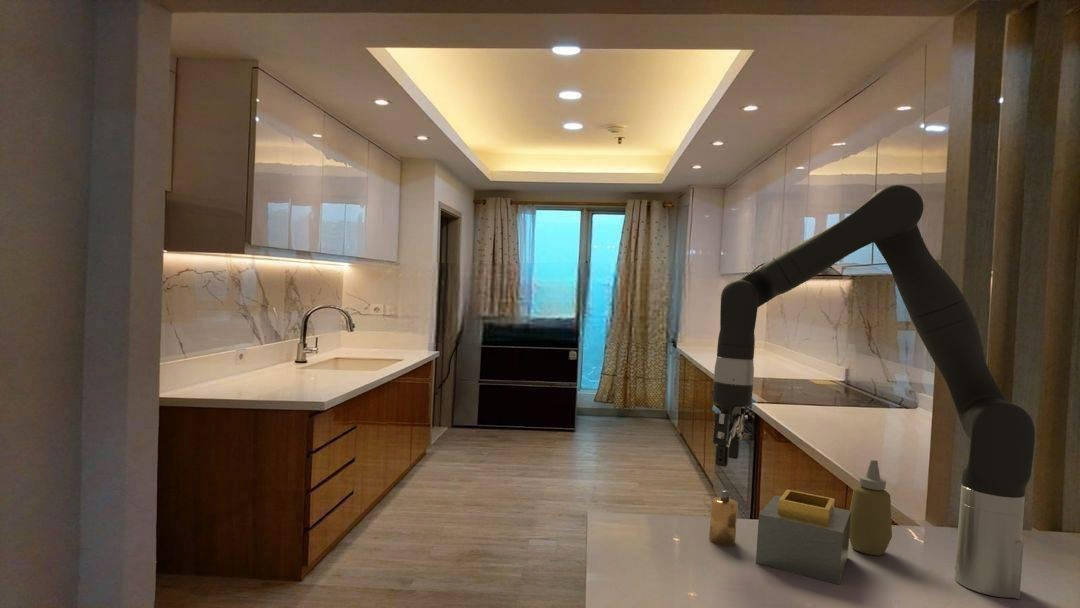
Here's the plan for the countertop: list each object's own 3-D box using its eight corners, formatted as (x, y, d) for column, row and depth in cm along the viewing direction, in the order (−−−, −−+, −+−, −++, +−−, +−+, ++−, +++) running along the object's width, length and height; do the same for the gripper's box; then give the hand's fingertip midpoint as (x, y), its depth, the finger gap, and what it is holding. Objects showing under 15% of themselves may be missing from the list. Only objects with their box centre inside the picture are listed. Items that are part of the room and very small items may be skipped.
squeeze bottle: (880, 544, 132) (886, 457, 131) (898, 560, 123) (904, 467, 123) (839, 540, 132) (845, 453, 132) (854, 556, 124) (861, 463, 124)
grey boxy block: (847, 557, 123) (851, 497, 123) (839, 584, 110) (843, 518, 110) (771, 539, 131) (775, 483, 130) (755, 562, 118) (759, 500, 118)
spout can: (737, 540, 129) (741, 490, 129) (731, 548, 124) (735, 496, 124) (712, 534, 131) (716, 485, 131) (705, 541, 127) (709, 491, 127)
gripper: (744, 386, 119) (737, 472, 120) (760, 380, 132) (754, 459, 132) (704, 381, 123) (698, 464, 123) (723, 375, 135) (718, 452, 136)
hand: (727, 461), depth 128 cm, fingers open, 8 cm apart
